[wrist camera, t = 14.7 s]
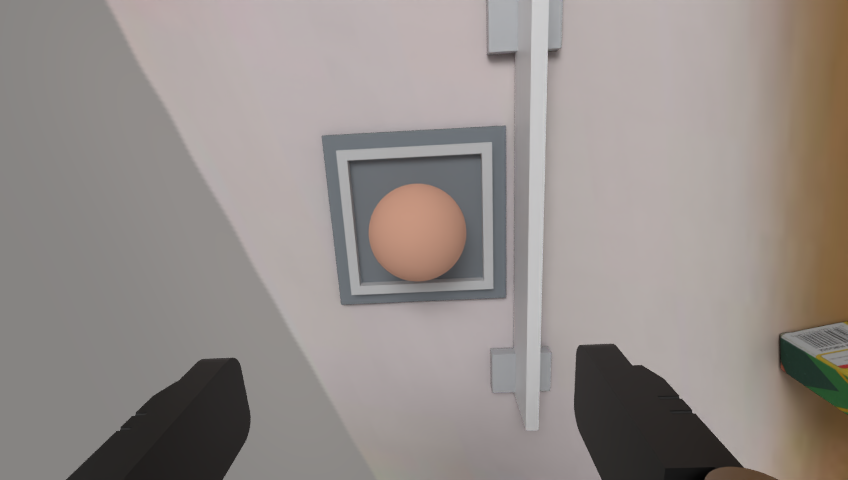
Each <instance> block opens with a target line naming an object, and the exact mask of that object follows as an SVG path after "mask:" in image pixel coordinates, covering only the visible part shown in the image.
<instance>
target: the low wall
mask: <svg viewBox="0 0 848 480" xmlns="http://www.w3.org/2000/svg"><path fill="white" fill-rule="evenodd" d="M562 7H563V0H486V8H487V55H491V54H507V53H515V137H514V342H513V348H497V349H490V350H491V389H492V393H506V392H514V395H515V398H516V402H517V405H518V408H519V411H520V414H521V417H522V421H523V424H524V427H525V430H526V431H534V430H539V391H550V379H551V351H550V349H549V347H548V346H547V347H541V308H542V267H543V226H544V185H545V144H546V103H547V62H548V51H557V50H559V49H560V48H561V38H562Z"/></svg>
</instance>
